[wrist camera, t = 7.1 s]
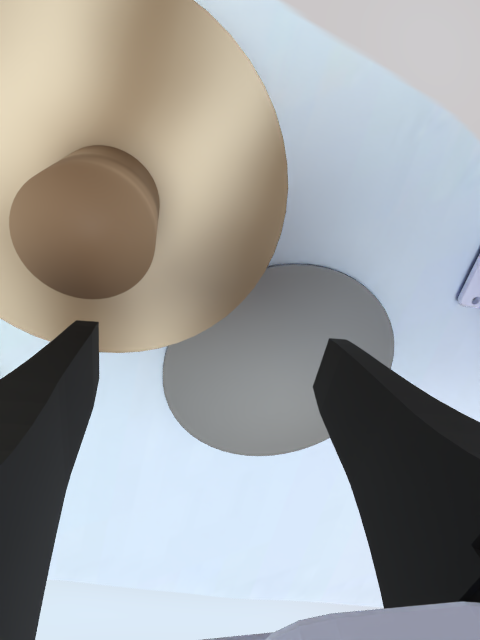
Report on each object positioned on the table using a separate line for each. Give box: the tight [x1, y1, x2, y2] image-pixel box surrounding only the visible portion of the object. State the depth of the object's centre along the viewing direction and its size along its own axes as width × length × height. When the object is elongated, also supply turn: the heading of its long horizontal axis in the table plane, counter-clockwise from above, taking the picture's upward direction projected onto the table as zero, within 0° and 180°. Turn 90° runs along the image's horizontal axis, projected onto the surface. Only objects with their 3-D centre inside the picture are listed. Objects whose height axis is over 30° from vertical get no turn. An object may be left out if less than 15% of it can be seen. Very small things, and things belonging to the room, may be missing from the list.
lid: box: [0, 0, 288, 353], centre depth 12 cm, size 13×13×5 cm
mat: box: [163, 264, 394, 456], centre depth 25 cm, size 15×15×1 cm
